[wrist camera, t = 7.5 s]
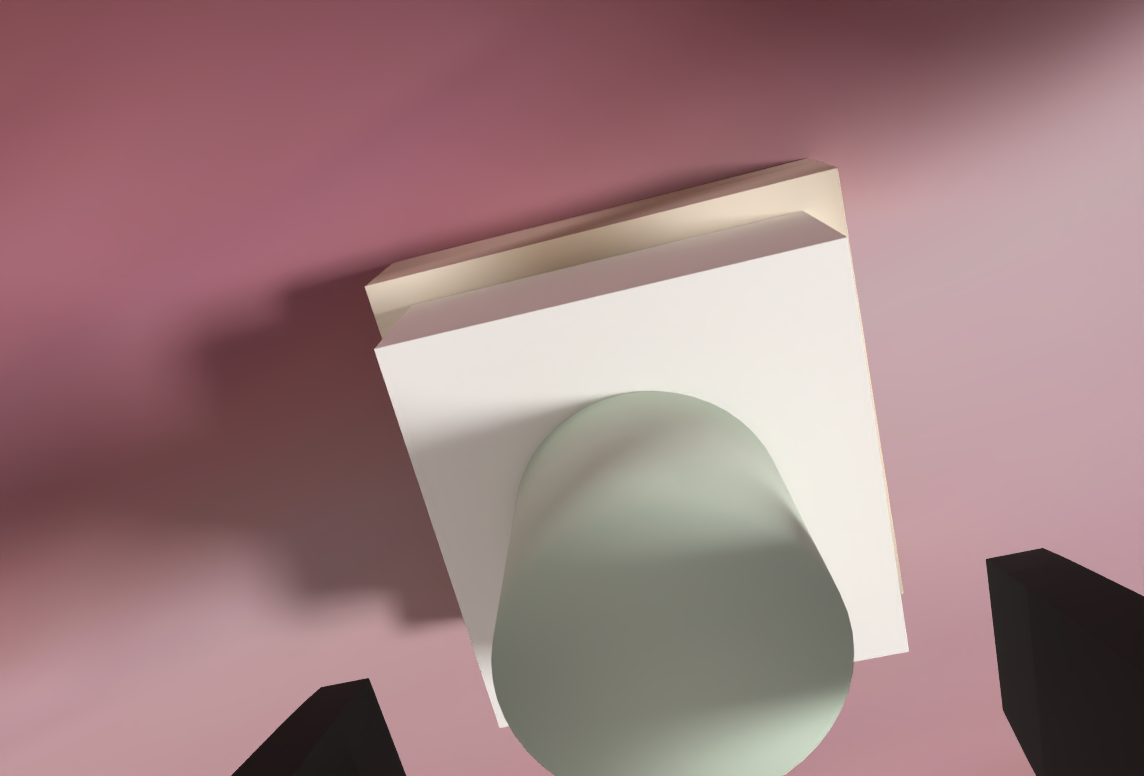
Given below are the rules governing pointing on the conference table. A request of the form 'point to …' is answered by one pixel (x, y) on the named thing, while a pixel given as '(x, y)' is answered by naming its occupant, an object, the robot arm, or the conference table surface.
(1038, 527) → the conference table surface
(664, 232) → the base slab
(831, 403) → the top slab
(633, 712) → the sage capsule
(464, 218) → the conference table surface
